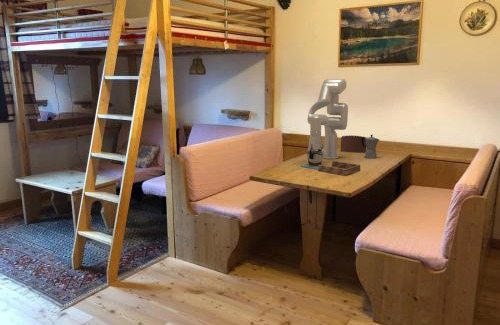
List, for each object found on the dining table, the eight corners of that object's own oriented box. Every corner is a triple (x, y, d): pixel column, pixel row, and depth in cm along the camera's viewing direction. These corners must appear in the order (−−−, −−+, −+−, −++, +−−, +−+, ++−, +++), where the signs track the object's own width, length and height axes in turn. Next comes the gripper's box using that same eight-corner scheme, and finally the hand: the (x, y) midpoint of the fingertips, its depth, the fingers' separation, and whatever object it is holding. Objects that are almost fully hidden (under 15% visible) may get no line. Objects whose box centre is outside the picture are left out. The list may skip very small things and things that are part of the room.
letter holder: (364, 153, 335) (365, 136, 332) (340, 151, 342) (341, 135, 339) (366, 151, 344) (366, 134, 341) (342, 149, 351) (342, 133, 348)
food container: (325, 165, 290) (326, 151, 288) (323, 167, 285) (323, 153, 282) (309, 163, 296) (309, 150, 294) (306, 165, 290) (306, 151, 288)
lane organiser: (318, 170, 276) (318, 165, 275) (333, 166, 289) (333, 160, 288) (345, 175, 262) (346, 169, 261) (360, 170, 275) (360, 164, 274)
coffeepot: (381, 157, 315) (382, 134, 311) (375, 159, 308) (376, 136, 304) (363, 155, 325) (364, 132, 322) (357, 157, 319) (358, 134, 315)
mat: (300, 166, 290) (300, 165, 290) (310, 163, 299) (310, 162, 298) (319, 169, 279) (319, 169, 279) (329, 166, 288) (329, 166, 288)
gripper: (318, 131, 293) (317, 154, 297) (303, 134, 280) (303, 159, 284) (327, 132, 288) (326, 156, 292) (312, 136, 275) (312, 160, 279)
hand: (315, 157), depth 288 cm, fingers open, 9 cm apart
